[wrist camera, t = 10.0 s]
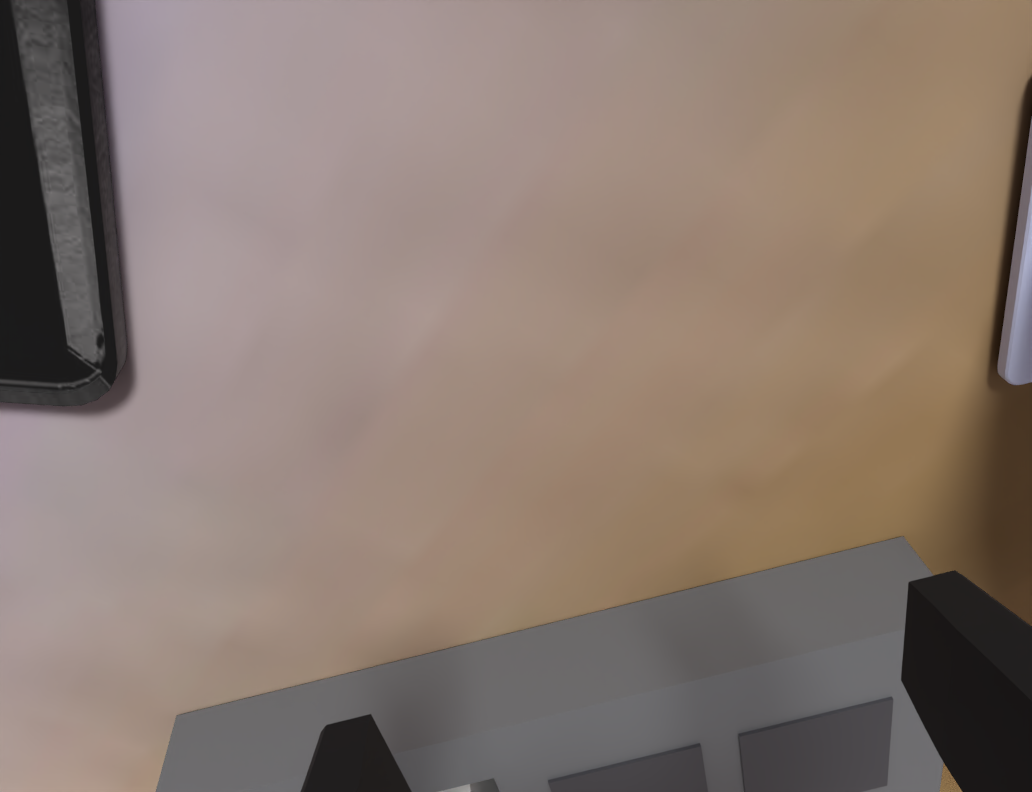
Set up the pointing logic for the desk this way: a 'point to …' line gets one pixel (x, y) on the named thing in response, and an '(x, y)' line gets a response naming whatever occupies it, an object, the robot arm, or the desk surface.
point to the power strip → (624, 698)
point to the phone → (56, 210)
